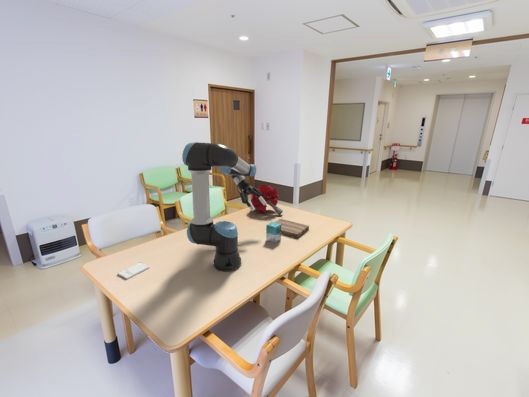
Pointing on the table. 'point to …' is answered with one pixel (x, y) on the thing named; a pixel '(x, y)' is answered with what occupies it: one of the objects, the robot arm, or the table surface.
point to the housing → (273, 232)
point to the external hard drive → (133, 270)
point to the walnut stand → (292, 228)
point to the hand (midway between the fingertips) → (259, 207)
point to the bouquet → (266, 199)
